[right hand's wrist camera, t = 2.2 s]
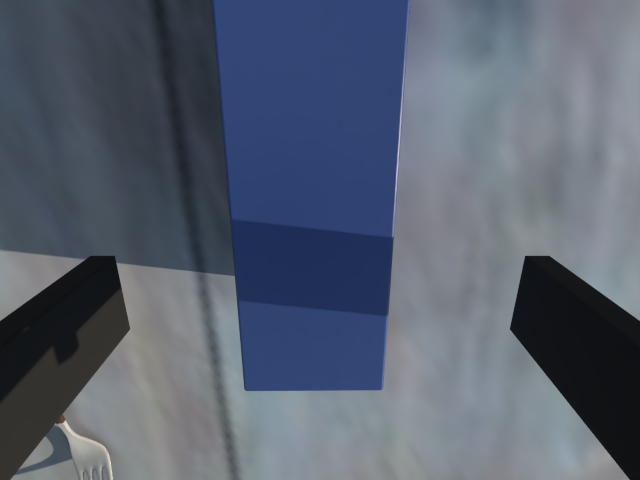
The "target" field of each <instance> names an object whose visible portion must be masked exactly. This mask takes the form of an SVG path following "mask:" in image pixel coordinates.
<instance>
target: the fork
mask: <svg viewBox="0 0 640 480" xmlns="http://www.w3.org/2000/svg"><path fill="white" fill-rule="evenodd" d="M56 424H57V425H58V426H59V427H60V428H61V429H62V430H63V432H64V433H65V435H66V436H67V438H68V441H69V446H70V451H71V455H72V459H73V462H74V465H75V468H76V471H77V474H78V478H79V480H84V472H86V473H87V476H88V480H94V478H93V470H96V473H97V476H98V480H103V467H104V468H105V469H106V472H107V477H108V480H113V477H112V469H111V462H110V457H109V454H108V451H107V450H106V448H105V447H104V446H103V445H102V444H100V443H98V442H96V441H94V440H92V439H89V438H86V437H83V436H80V435H78V434H76V433H75V432H73V431H72V430H71V428H70V427H69V425H68V424H67V422H66V420H65V418H64V416H63V414H62V415H61V416H60V418H59V419H58V420H57V421H56Z"/></svg>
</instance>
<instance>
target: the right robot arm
mask: <svg viewBox="0 0 640 480" xmlns="http://www.w3.org/2000/svg"><path fill="white" fill-rule="evenodd" d="M129 330H130V327H129V322H128V317H127V312H126V307H125V303H124V298H123V293H122V288H121V284H120V279H119V274H118V269H117V264H116V260H115V256H90V257H89V258H87V259H86V260H84V261H83V262H82V263H80V264H79V265H77V266H76V267H75V268H73V269H72V270H71V271H69V272H68V273H66V274H65V275H64V276H62V277H61V278H59V279H58V280H57V281H55V282H54V283H53V284H51V285H50V286H48V287H47V288H46V289H44V290H43V291H41V292H40V293H39V294H37V295H36V296H34V297H33V298H32V299H30V300H29V301H28V302H26V303H25V304H23V305H22V306H21V307H19V308H18V309H16V310H15V311H14V312H12V313H11V314H9V315H8V316H7V317H5V318H4V319H3V320H1V321H0V480H10V479H11V478H12V477H13V475H14V474H15V473H16V472H17V470H18V469H19V468H20V467H21V465H22V464H23V463H24V462H25V460H26V459H27V458H28V457H29V455H30V454H31V453H32V452H33V450H34V449H35V448H36V447H37V445H38V444H39V443H40V442H41V440H42V439H43V438H44V437H45V435H46V434H47V433H48V431H49V430H50V429H51V428H52V426H53V425H54V424H55V423H56V421H57V420H58V419H59V418H60V416H61V415H62V414H63V413H64V411H65V410H66V409H67V408H68V406H69V405H70V404H71V403H72V401H73V400H74V399H75V398H76V396H77V395H78V394H79V393H80V391H81V390H82V389H83V388H84V386H85V385H86V384H87V383H88V381H89V380H90V379H91V378H92V376H93V375H94V374H95V373H96V371H97V370H98V369H99V368H100V366H101V365H102V364H103V362H104V361H105V360H106V359H107V357H108V356H109V355H110V354H111V352H112V351H113V350H114V349H115V347H116V346H117V345H118V344H119V342H120V341H121V340H122V339H123V337H124V336H125V335H126V334H127V332H128V331H129ZM510 330H511V331H512V332H513V334H514V335H515V336H516V337H517V339H518V340H519V341H520V342H521V344H522V345H523V346H524V347H525V349H526V350H527V351H528V352H529V354H530V355H531V356H532V357H533V359H534V360H535V361H536V362H537V364H538V365H539V366H540V368H541V369H542V370H543V371H544V373H545V374H546V375H547V376H548V378H549V379H550V380H551V381H552V383H553V384H554V385H555V386H556V388H557V389H558V390H559V391H560V393H561V394H562V395H563V396H564V398H565V399H566V400H567V401H568V403H569V404H570V405H571V406H572V408H573V409H574V410H575V411H576V413H577V414H578V415H579V416H580V418H581V419H582V420H583V421H584V423H585V424H586V425H587V426H588V428H589V429H590V430H591V431H592V433H593V434H594V435H595V437H596V438H597V439H598V440H599V442H600V443H601V444H602V445H603V447H604V448H605V449H606V450H607V452H608V453H609V454H610V455H611V457H612V458H613V459H614V460H615V462H616V463H617V464H618V465H619V467H620V468H621V469H622V470H623V472H624V473H625V474H626V475H627V477H628V478H629V479H630V480H640V321H639V320H637V319H636V318H635V317H633V316H632V315H631V314H629V313H628V312H626V311H625V310H624V309H622V308H621V307H619V306H618V305H617V304H615V303H614V302H612V301H611V300H610V299H608V298H607V297H606V296H604V295H603V294H601V293H600V292H599V291H597V290H596V289H594V288H593V287H592V286H590V285H589V284H587V283H586V282H585V281H583V280H582V279H581V278H579V277H578V276H576V275H575V274H574V273H572V272H571V271H569V270H568V269H567V268H565V267H564V266H562V265H561V264H560V263H558V262H557V261H556V260H554V259H553V258H551V257H550V256H525V260H524V264H523V269H522V274H521V279H520V284H519V288H518V293H517V298H516V303H515V307H514V312H513V317H512V322H511V327H510Z"/></svg>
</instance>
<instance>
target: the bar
mask: <svg viewBox="0 0 640 480" xmlns="http://www.w3.org/2000/svg"><path fill="white" fill-rule="evenodd" d="M212 10H213V22H214V33H215V45H216V57H217V69H218V81H219V93H220V105H221V116H222V128H223V140H224V152H225V164H226V176H227V187H228V199H229V211H230V223H231V235H232V247H233V259H234V270H235V282H236V294H237V306H238V318H239V330H240V342H241V353H242V365H243V377H244V388H245V390H246V391H321V390H382V389H383V382H384V367H385V353H386V339H387V325H388V311H389V296H390V282H391V268H392V254H393V239H394V225H395V211H396V197H397V182H398V168H399V154H400V140H401V125H402V111H403V97H404V83H405V68H406V54H407V40H408V26H409V11H410V0H212Z"/></svg>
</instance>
